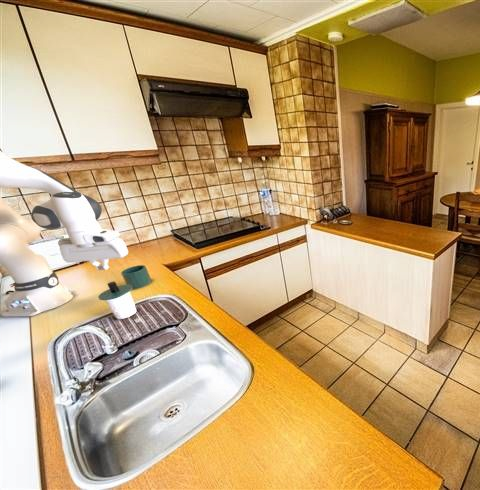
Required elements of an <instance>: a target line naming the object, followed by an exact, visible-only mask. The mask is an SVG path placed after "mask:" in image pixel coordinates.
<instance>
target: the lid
mask: <svg viewBox="0 0 480 490" xmlns="http://www.w3.org/2000/svg"><path fill="white" fill-rule="evenodd" d="M106 285H107V286H108V289H106V290H104V291H103V292H101V293H100V294H99V295H98V297H97V298H98V300H100V301H105V300H110V299H114V298H117V297H120V296H122V295H124V294H126V293H128V292H131V291H132V290H133V289H132V286H131V285H126V284H121V285H117V283H116V281H109V282H108V283H107V284H106Z"/></svg>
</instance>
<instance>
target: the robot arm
mask: <svg viewBox="0 0 480 490" xmlns="http://www.w3.org/2000/svg"><path fill="white" fill-rule="evenodd" d="M0 188H4V189H5V188H7V189H8V188H10V189H12V188H13V189H14V188H15V189H31V190H32V189H33V190H38V191H43V192H46V193H48V194H50V195H51V196H50V199H49V200H47V201H45V202H43V203H41V204H38V205H35V206H34V207H33V208H32V211H31V218H32V220H31V219H28V218H26V217H24V216H22V215H21V214H20V213H18V212H17V211H16V210H14V209H13V208H12V207H11V206H10V205H9V204H8V203H7V202H6V201H5V200H4V199H3V198H2V196H0V265H1V266H2V268H4V269H5V271H6V272H7V273H8V275H9V276H10V277H11V279H12V280H13V283H11V284H9V285H8V286H9V287H10V288H13V287H14V290H7V291H6V292H5V295H9V294H10V293H11V294H10V295H9V296H8V297H7V298H6V300H5V301H4V305H5V307H6V309H5V310H4V311H3V312H2V313H1V317H2V318H3V317H6V318H7V317H10V318H12V317H33V316H37V315H38V314H42V313H44V312H47V311H50V310H53V309H56V308H58V307H60V306H63V305H65V304H67V303H68V302H69V301H71V300H72V299H73V298H74V295H73V294H72V292H71V290H69V289H68V287H67V286H65V285H64V283H63V282H62V281H61V280H60V279H59V276H58V275H57V273H56V272H55V271H54V270H52V268H51V266H50V264H49V263H48V261H47V260H46V258H45V256H43V255H41V254H37V253H35V252H34V251H33V250H32V249H31V248H30V247H29V246H28V245H29V244H31V243H32V242H34V241H36V240H37V239H38V238H39V236H40V235H41V233H42V229H45V230H48V231H55V230H62V229H65V232H66V235H67V236H68V237H63V238H60V239H59V240H58V241H57V245H58V247H59V251H60V255H61V257H62V259H63V261H64V262H65V263H81V262H89V264H91V265H92V266H93V267H95V268H96V270H97V271H106V270H108V269H109V268H110V266H109V261H110V260H114V259H115V260H116V259H123V258H124V257H126V256H128V254H129V249H128V247H127V245H126V243H125V241H124V240H123V239H122V238H121V237H120V232H119V231H118V230H114V229H108V228H103V227H101V225H100V223H99V222H98V220H99V219H100V217H101V215H102V211H103V209H102V206H101V203H99V202H98V200H96V199H95V198H92V197H91V196H89V195H86V194H84V193H81V192H80V191H78V190H76V189H74V188H72V187H71V186H70V185H68V184H66V183H64V182H62V181H60V180H59V179H57V178H56V177H54V176H52V175H51V174H49V173H47V172H46V171H43V170H42V169H41V170H40V169H38V168H35V167H31V166H28V165H26V164H24V163H21V162H20V161H17V160H15V159H14V158H11V157H10V156H8V155H7V154H6V153H5V152H3V151H2V149H1V148H0ZM41 228H42V229H41Z"/></svg>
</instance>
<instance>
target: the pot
mask: <svg viewBox="0 0 480 490" xmlns="http://www.w3.org/2000/svg"><path fill="white" fill-rule="evenodd" d="M120 274H121V276H122V279H123V280H124V282H125V285H131V286H132V290H136V289H137V290H138V289H141V288H144V287H146V286H148V285H149V284H151V283H152V278H151V275H150V273H149V271H148V269H147V267H146V265H143V264H141V265H139V264H138V265H134V266H131V267H128V268H126V269H123V270H122V271H121V272H120Z"/></svg>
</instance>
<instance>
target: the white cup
mask: <svg viewBox="0 0 480 490" xmlns="http://www.w3.org/2000/svg"><path fill="white" fill-rule="evenodd" d="M104 302H105V304H106V305H107V307H108V308H109V310H110V312H111V313H112V314H113V315H114V317H115V319H117V320H125V319H127V318H129V317H132V316H133V315H135V314H136V313H137V307H136V304H135V302H134V299H133V296H132V294H131V291H129V292H128V293H126V294H124V295H122V296H120V297H117V298H114V299H110V300H104Z"/></svg>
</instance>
